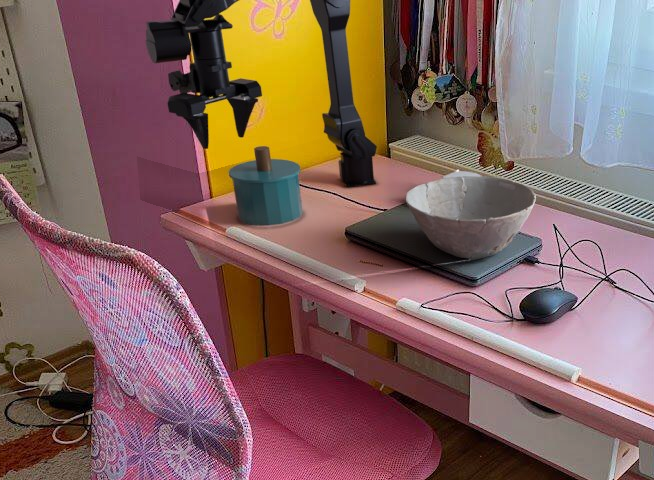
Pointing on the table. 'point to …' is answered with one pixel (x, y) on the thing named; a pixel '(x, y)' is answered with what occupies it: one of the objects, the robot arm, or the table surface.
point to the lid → (264, 168)
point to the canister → (268, 201)
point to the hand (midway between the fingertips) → (223, 142)
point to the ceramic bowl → (471, 213)
